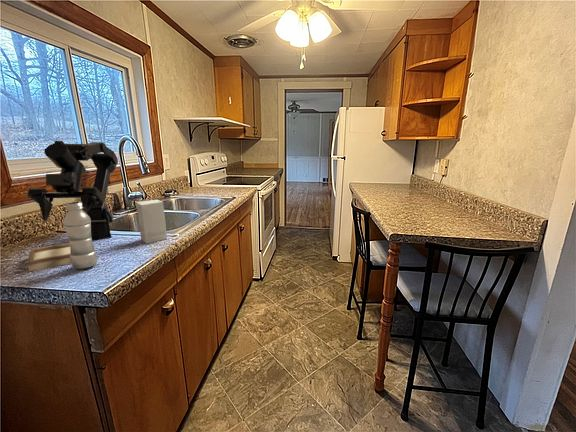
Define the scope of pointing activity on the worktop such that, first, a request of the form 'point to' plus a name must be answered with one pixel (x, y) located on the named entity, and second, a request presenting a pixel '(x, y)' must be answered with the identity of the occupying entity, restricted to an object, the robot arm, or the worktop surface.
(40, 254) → the stand
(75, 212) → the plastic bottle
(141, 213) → the skincare box
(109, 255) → the worktop surface
